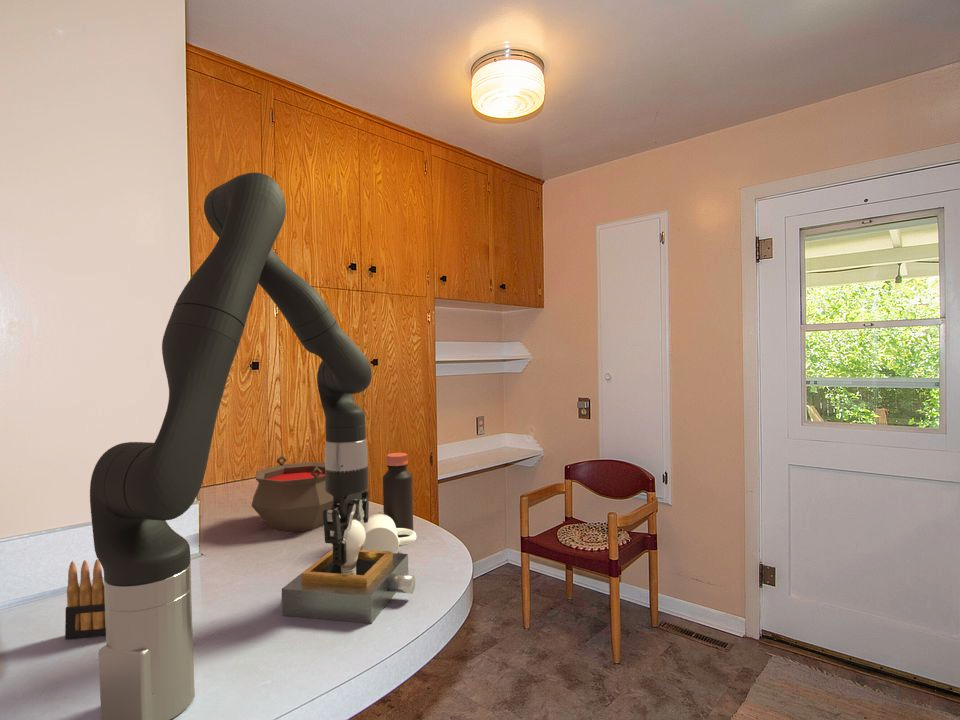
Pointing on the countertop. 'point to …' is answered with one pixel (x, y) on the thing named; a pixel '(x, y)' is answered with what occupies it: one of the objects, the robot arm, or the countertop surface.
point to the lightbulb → (353, 546)
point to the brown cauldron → (292, 496)
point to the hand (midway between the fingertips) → (348, 556)
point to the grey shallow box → (348, 587)
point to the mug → (385, 534)
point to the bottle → (398, 491)
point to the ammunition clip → (85, 603)
